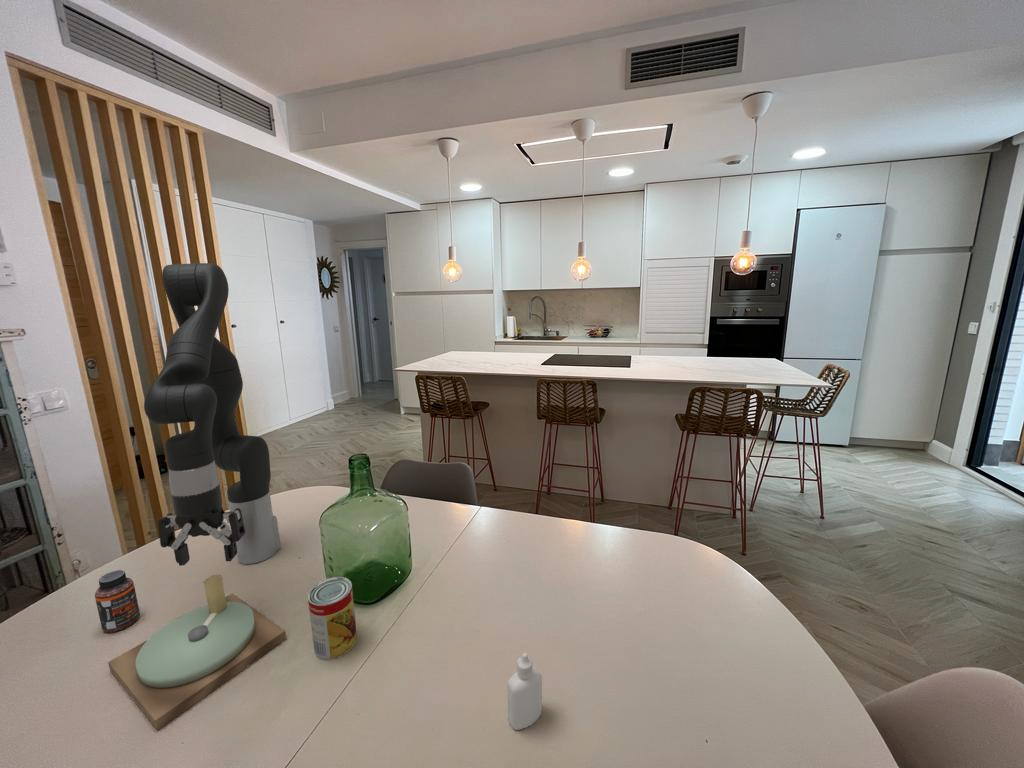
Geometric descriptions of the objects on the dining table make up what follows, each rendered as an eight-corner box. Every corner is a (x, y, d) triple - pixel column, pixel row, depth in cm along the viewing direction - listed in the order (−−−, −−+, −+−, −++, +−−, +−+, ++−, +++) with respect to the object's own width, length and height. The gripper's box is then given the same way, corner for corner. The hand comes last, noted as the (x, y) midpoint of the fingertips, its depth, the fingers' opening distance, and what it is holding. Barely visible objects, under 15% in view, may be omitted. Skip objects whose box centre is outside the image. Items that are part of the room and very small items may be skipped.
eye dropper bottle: (507, 704, 69) (506, 643, 67) (540, 703, 69) (541, 642, 67) (508, 731, 65) (507, 667, 62) (543, 730, 65) (544, 666, 63)
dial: (227, 679, 72) (219, 635, 70) (110, 695, 69) (98, 649, 67) (270, 605, 89) (264, 568, 87) (178, 615, 87) (170, 577, 85)
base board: (233, 600, 94) (231, 592, 93) (286, 638, 83) (285, 629, 83) (110, 671, 76) (107, 660, 76) (157, 730, 65) (154, 719, 65)
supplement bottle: (117, 636, 84) (105, 587, 82) (94, 631, 85) (82, 583, 83) (148, 614, 90) (138, 568, 88) (126, 610, 91) (116, 565, 89)
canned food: (365, 633, 84) (360, 581, 82) (337, 664, 77) (331, 609, 75) (334, 623, 87) (328, 573, 84) (304, 653, 80) (297, 599, 77)
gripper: (244, 475, 85) (254, 547, 88) (168, 480, 83) (180, 553, 86) (225, 492, 77) (236, 569, 80) (140, 497, 75) (155, 576, 78)
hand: (207, 561), depth 83 cm, fingers open, 8 cm apart
